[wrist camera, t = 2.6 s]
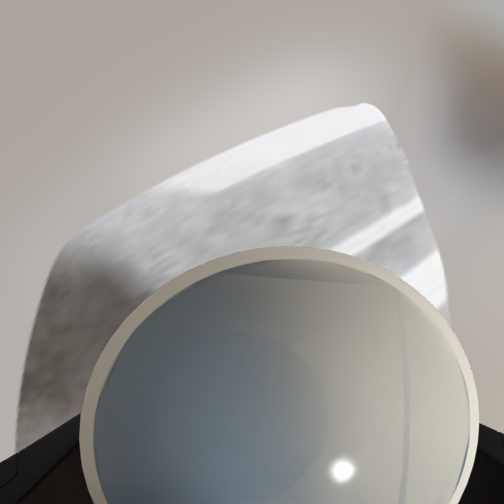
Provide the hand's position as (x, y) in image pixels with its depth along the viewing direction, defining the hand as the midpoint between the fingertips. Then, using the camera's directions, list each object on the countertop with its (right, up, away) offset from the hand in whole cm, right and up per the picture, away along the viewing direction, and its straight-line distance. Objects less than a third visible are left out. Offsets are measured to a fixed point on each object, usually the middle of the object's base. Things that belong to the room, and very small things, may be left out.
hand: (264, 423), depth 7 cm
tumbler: (0, -4, +6) cm, 8 cm away
